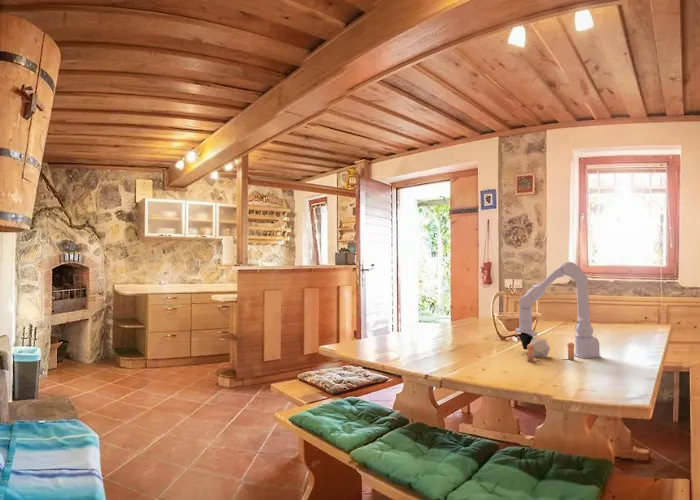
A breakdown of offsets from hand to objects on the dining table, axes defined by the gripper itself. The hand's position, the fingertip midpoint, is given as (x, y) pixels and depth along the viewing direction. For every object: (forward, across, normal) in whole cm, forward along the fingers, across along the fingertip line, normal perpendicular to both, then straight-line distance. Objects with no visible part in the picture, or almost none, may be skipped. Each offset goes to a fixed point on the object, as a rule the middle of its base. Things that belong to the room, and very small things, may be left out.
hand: (526, 349), depth 205 cm
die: (+2, +10, 0) cm, 11 cm away
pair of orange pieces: (+1, +18, 0) cm, 19 cm away
